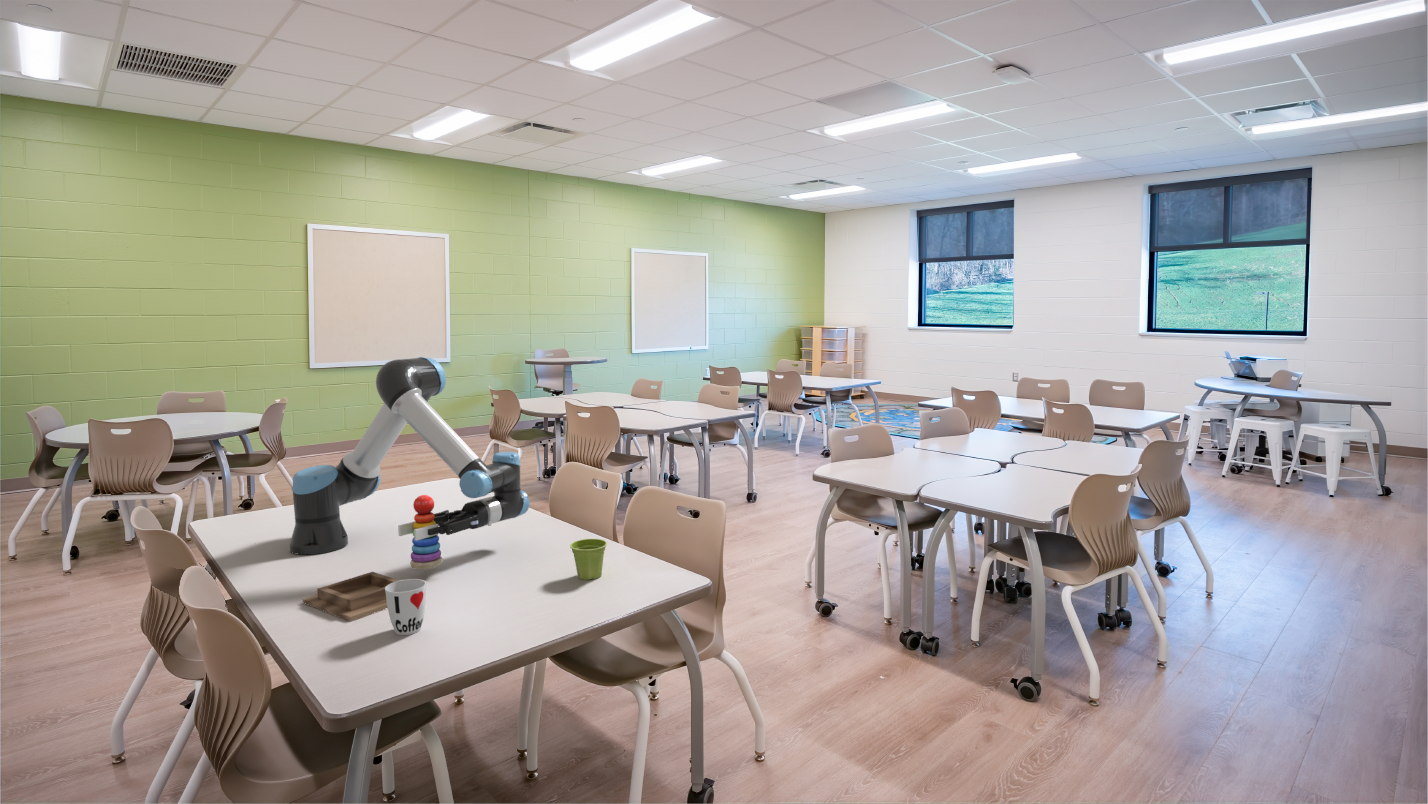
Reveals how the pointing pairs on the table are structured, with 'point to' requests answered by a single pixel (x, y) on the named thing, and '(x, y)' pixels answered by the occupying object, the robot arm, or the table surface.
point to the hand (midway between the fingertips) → (407, 532)
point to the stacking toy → (427, 548)
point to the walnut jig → (353, 596)
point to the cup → (406, 605)
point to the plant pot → (589, 557)
